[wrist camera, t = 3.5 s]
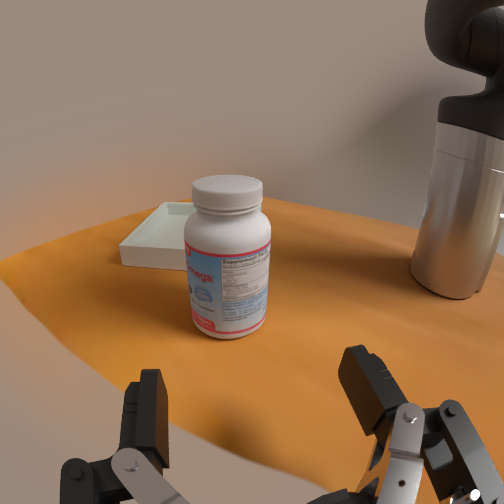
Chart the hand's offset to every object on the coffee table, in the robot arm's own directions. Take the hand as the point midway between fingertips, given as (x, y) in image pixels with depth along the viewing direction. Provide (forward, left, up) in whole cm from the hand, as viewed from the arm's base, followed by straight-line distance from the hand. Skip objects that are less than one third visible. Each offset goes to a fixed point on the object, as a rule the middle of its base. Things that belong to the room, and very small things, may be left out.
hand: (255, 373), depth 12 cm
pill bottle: (+3, -11, -6) cm, 13 cm away
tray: (+9, -25, -6) cm, 27 cm away
